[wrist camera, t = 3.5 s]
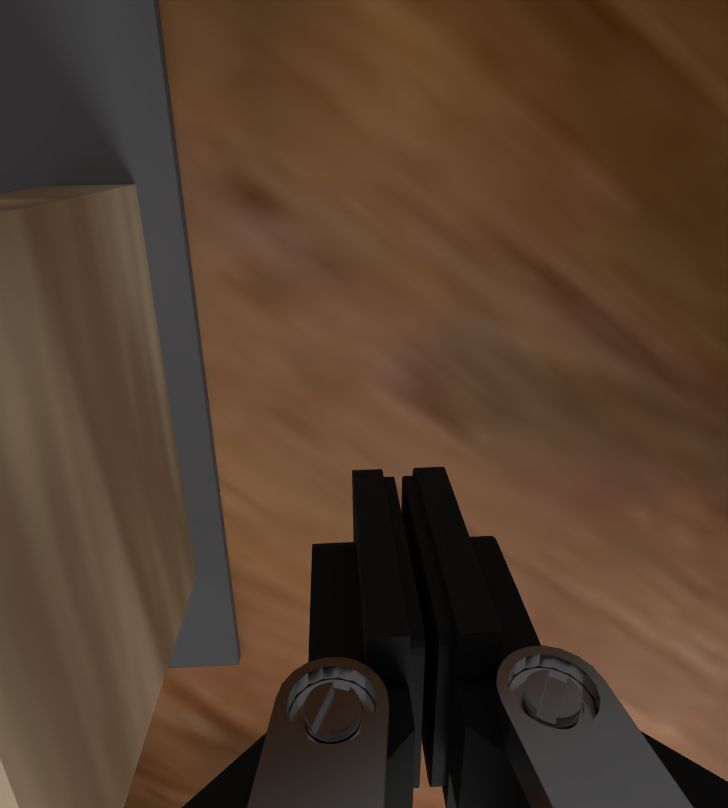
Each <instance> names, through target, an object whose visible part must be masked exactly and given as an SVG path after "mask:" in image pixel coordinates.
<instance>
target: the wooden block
mask: <svg viewBox="0 0 728 808" xmlns="http://www.w3.org/2000/svg"><path fill="white" fill-rule="evenodd" d="M195 578H196V569H195V563H194V557H193V550H192V544H191V537H190V531H189V524H188V518H187V511H186V505H185V499H184V492H183V486H182V479H181V473H180V466H179V460H178V453H177V447H176V441H175V434H174V428H173V421H172V415H171V408H170V402H169V395H168V389H167V383H166V376H165V370H164V363H163V357H162V350H161V344H160V337H159V331H158V325H157V318H156V312H155V305H154V299H153V292H152V286H151V279H150V273H149V266H148V260H147V254H146V247H145V241H144V234H143V228H142V221H141V215H140V208H139V202H138V196H137V189H136V184H127V185H58V186H47V187H40V188H34V189H27V190H21V191H15V192H8V193H2V194H0V808H124V806H125V803H126V800H127V796H128V793H129V790H130V787H131V784H132V780H133V777H134V774H135V771H136V768H137V764H138V761H139V758H140V755H141V752H142V748H143V745H144V742H145V739H146V736H147V732H148V729H149V726H150V723H151V719H152V716H153V713H154V710H155V707H156V703H157V700H158V697H159V694H160V691H161V687H162V684H163V681H164V678H165V675H166V671H167V668H168V665H169V662H170V659H171V655H172V652H173V649H174V646H175V642H176V639H177V636H178V633H179V630H180V626H181V623H182V620H183V617H184V614H185V610H186V607H187V604H188V601H189V598H190V594H191V591H192V588H193V585H194V582H195Z"/></svg>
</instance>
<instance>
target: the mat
mask: <svg viewBox="0 0 728 808" xmlns="http://www.w3.org/2000/svg"><path fill="white" fill-rule="evenodd" d="M127 184H136V189H137V196H138V202H139V208H140V215H141V221H142V228H143V234H144V241H145V247H146V254H147V260H148V266H149V273H150V279H151V286H152V292H153V299H154V305H155V312H156V318H157V325H158V331H159V337H160V344H161V350H162V357H163V363H164V370H165V376H166V383H167V389H168V395H169V402H170V408H171V415H172V421H173V428H174V434H175V441H176V447H177V453H178V460H179V466H180V473H181V479H182V486H183V492H184V499H185V505H186V511H187V518H188V524H189V531H190V537H191V544H192V550H193V557H194V563H195V569H196V578H195V582H194V585H193V588H192V591H191V594H190V598H189V601H188V604H187V607H186V610H185V614H184V617H183V620H182V623H181V626H180V630H179V633H178V636H177V639H176V642H175V646H174V649H173V652H172V655H171V659H170V662H169V665H168V668H175V667H196V666H217V665H238V664H239V661H240V656H241V655H240V648H239V640H238V632H237V624H236V616H235V608H234V600H233V592H232V584H231V576H230V568H229V560H228V553H227V545H226V537H225V529H224V521H223V513H222V505H221V497H220V489H219V481H218V473H217V466H216V458H215V450H214V442H213V434H212V426H211V418H210V410H209V402H208V394H207V386H206V378H205V371H204V363H203V355H202V347H201V339H200V331H199V323H198V315H197V307H196V299H195V291H194V284H193V276H192V268H191V260H190V252H189V244H188V236H187V228H186V220H185V212H184V204H183V197H182V189H181V181H180V173H179V165H178V157H177V149H176V141H175V133H174V125H173V117H172V109H171V102H170V94H169V86H168V78H167V70H166V62H165V54H164V46H163V38H162V30H161V22H160V15H159V7H158V0H0V194H2V193H8V192H15V191H21V190H27V189H34V188H40V187H47V186H58V185H127Z"/></svg>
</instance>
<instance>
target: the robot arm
mask: <svg viewBox="0 0 728 808" xmlns="http://www.w3.org/2000/svg"><path fill="white" fill-rule="evenodd" d="M352 485H353V532H354V542H346V543H324V544H313V546H312V570H311V600H310V631H309V661H308V663H306V664H304V665H303V666H301V667H300V668H298V669H297V670H295V671H293V672H292V673H291V675H290V676H289V677H288V678H287V679H286V680H285V681H284V682H283V683H282V685H281V688H280V690H279V692H278V694H277V697H276V699H275V703H274V707H273V711H272V714H271V718H270V722H269V726H268V730H267V733H265V734H264V735H263V736H262V737H261V738H260V739H259V740H258V741H256V742H255V743H254V744H253V745H252V746H251V747H250V748H249V749H247V750H246V751H245V752H244V753H243V754H242V755H241V756H240V757H238V758H237V759H236V760H235V761H234V762H233V763H232V764H230V765H229V766H228V767H227V768H226V769H225V770H224V771H223V772H221V773H220V774H219V775H218V776H217V777H216V778H215V779H214V780H212V781H211V782H210V783H209V784H208V785H207V786H206V787H205V788H203V789H202V790H201V791H200V792H199V793H198V794H197V795H196V796H194V797H193V798H192V799H191V800H190V801H189V802H188V803H186V804H185V805H184V806H183V807H182V808H412V804H413V788H419V783H420V760H421V738H422V745H423V751H424V757H425V764H426V770H427V776H428V781H429V785H430V787H437V786H442V788H443V794H444V799H445V805H446V808H728V782H727V781H725V780H724V779H722V778H720V777H719V776H717V775H715V774H713V773H712V772H710V771H708V770H707V769H705V768H703V767H701V766H700V765H698V764H696V763H694V762H693V761H691V760H689V759H688V758H686V757H684V756H682V755H681V754H679V753H677V752H676V751H674V750H672V749H670V748H669V747H667V746H665V745H664V744H662V743H660V742H658V741H657V740H655V739H653V738H652V737H650V736H648V735H646V734H645V733H643V732H641V731H640V730H639V729H638V727H637V726H636V724H635V723H634V722H633V720H632V719H631V717H630V716H629V714H628V713H627V711H626V710H625V709H624V707H623V706H622V704H621V703H620V701H619V700H618V699H617V697H616V696H615V694H614V693H613V691H612V690H611V688H610V687H609V686H608V684H607V683H606V681H605V680H604V679H603V678H602V676H601V675H600V674H599V673H598V672H597V671H596V670H595V669H594V668H593V666H591V665H590V664H588V663H587V662H585V661H584V660H583V659H581V658H580V657H578V656H576V655H574V654H572V653H569V652H567V651H564V650H562V649H558V648H553V647H548V646H541V644H540V642H539V639H538V637H537V635H536V632H535V630H534V628H533V625H532V623H531V620H530V618H529V616H528V613H527V611H526V609H525V606H524V604H523V601H522V599H521V597H520V594H519V592H518V590H517V587H516V585H515V583H514V580H513V578H512V575H511V573H510V571H509V568H508V566H507V564H506V561H505V559H504V557H503V554H502V552H501V549H500V547H499V545H498V543H497V541H496V539H495V538H494V537H493V536H480V537H469V534H468V532H467V529H466V526H465V523H464V520H463V518H462V515H461V512H460V509H459V506H458V504H457V501H456V498H455V495H454V492H453V490H452V487H451V484H450V481H449V478H448V476H447V473H446V470H445V468H444V467H426V468H414V469H413V476H403V477H402V508H400V503H399V499H398V494H397V489H396V484H395V479H394V477H383V472H382V469H375V470H352Z"/></svg>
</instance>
